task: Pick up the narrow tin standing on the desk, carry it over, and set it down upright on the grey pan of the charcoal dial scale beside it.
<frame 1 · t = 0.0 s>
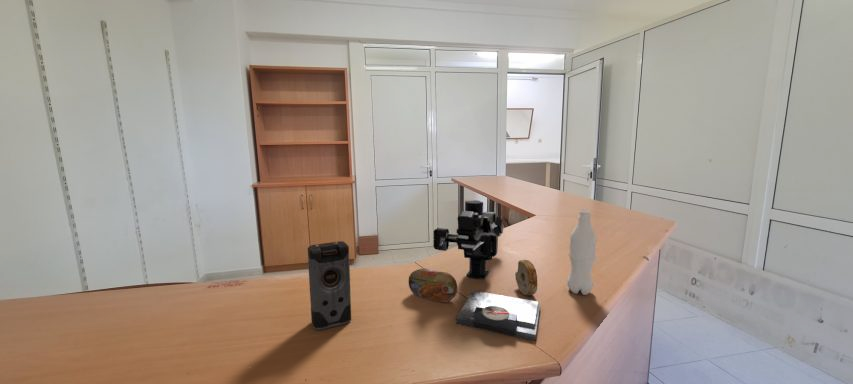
hand: (456, 250, 88), 17 cm above the table, tool horizontal, fingers open, 9 cm apart
electronic device: (331, 322, 84), on the table
stone disc: (526, 293, 100), on the table
dial scale: (499, 316, 86), on the table
tin: (432, 298, 97), on the table
water bottle: (579, 292, 101), on the table
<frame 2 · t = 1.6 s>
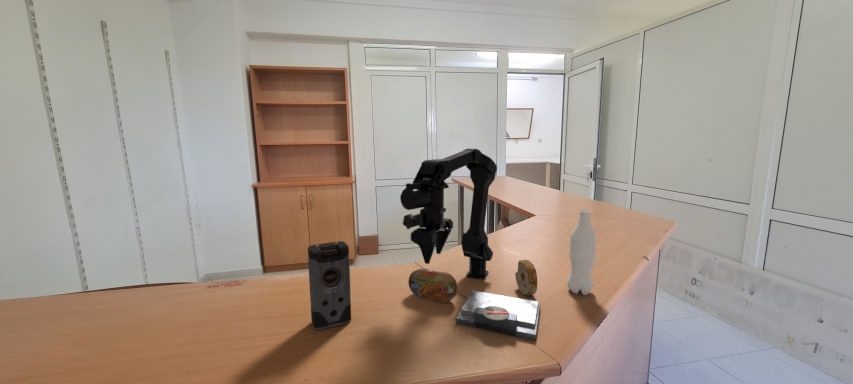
hand: (433, 258, 95), 12 cm above the table, tool pointing down, fingers open, 9 cm apart
nothing on the table moved.
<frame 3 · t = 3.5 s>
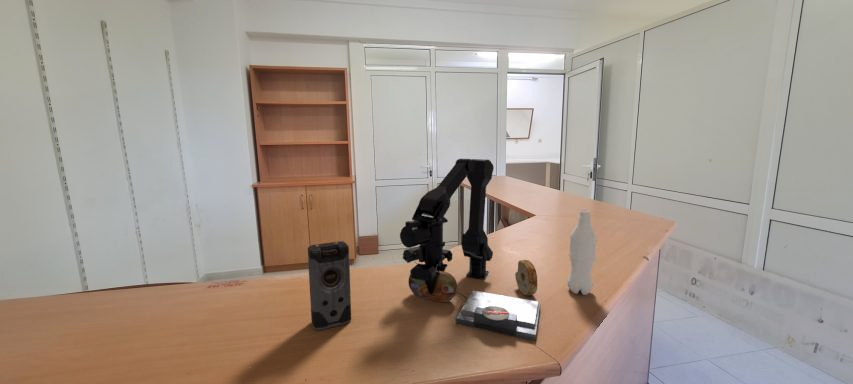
hand: (432, 291, 96), 2 cm above the table, tool pointing down, fingers closed on tin, 3 cm apart
tin: (432, 298, 97), on the table, touching gripper
everything else where it was.
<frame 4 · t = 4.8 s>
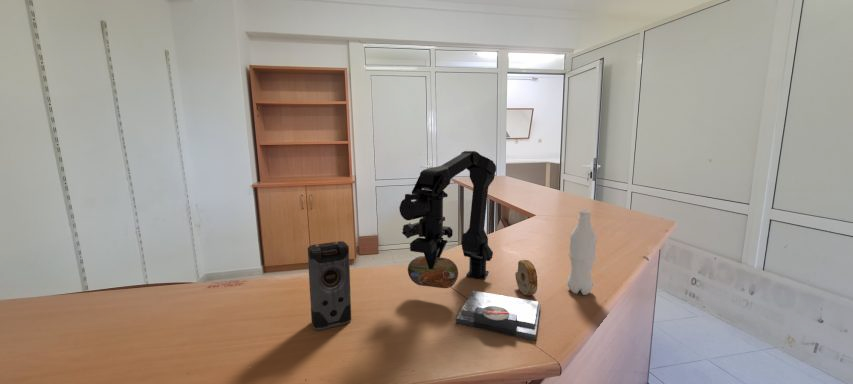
hand: (432, 267, 95), 9 cm above the table, tool pointing down, fingers closed on tin, 3 cm apart
tin: (434, 285, 96), point 4 cm above the table, touching gripper
everything else where it was.
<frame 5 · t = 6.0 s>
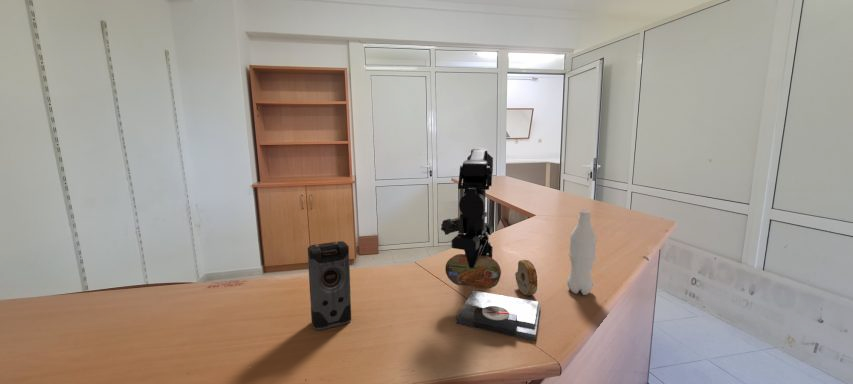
hand: (472, 265, 89), 12 cm above the table, tool pointing down, fingers closed on tin, 3 cm apart
tin: (473, 285, 90), point 6 cm above the table, touching gripper
everything else where it was.
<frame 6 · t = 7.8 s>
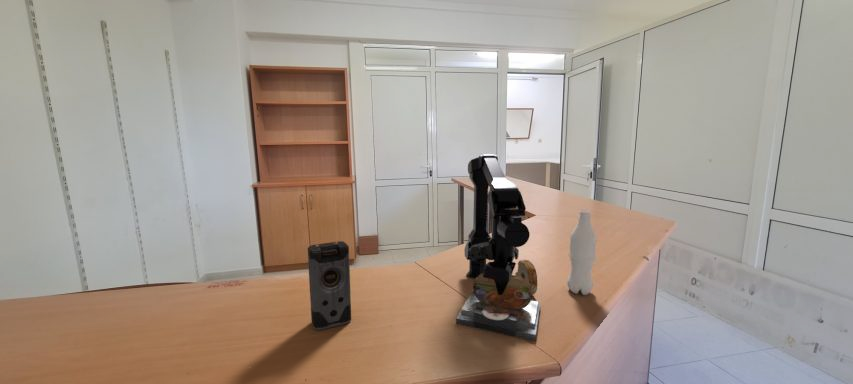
hand: (501, 292, 87), 6 cm above the table, tool pointing down, fingers closed on tin, 2 cm apart
tin: (501, 304, 87), point 2 cm above the table, touching dial scale, gripper
everything else where it was.
when the fingers open (6 cm above the table, at t = 8.2 s): tin stays where it is, resting on dial scale.
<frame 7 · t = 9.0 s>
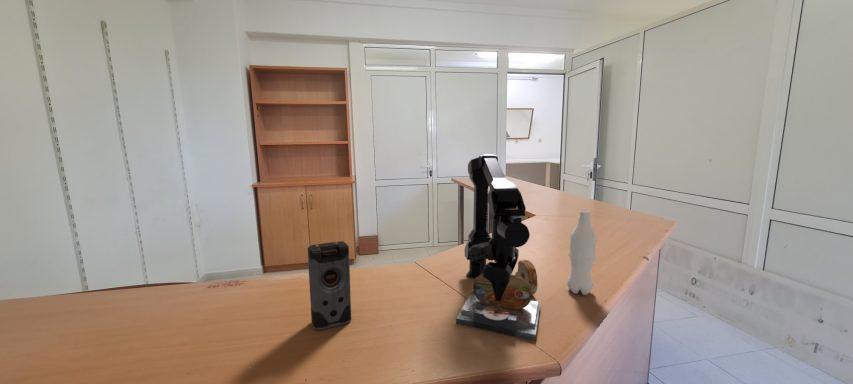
hand: (501, 292, 86), 6 cm above the table, tool pointing down, fingers open, 9 cm apart
tin: (501, 305, 87), point 2 cm above the table, touching dial scale
everything else where it was.
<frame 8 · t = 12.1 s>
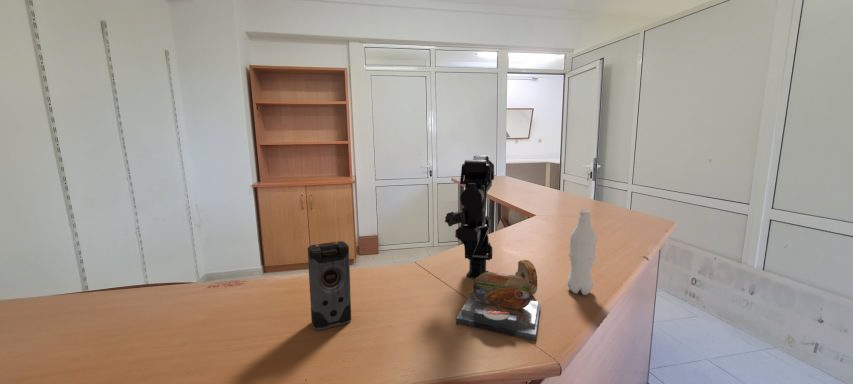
hand: (473, 254, 98), 12 cm above the table, tool pointing down, fingers open, 9 cm apart
nothing on the table moved.
at the end: tin inside the target area on the dial scale (0.6 cm from its centre), point 2.3 cm above the dial scale's base; tin tilted 0°; the gripper is holding nothing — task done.
